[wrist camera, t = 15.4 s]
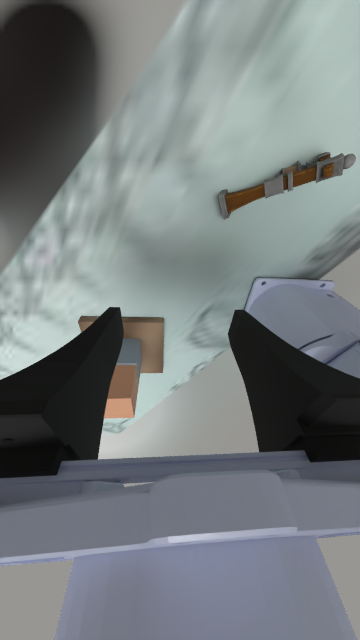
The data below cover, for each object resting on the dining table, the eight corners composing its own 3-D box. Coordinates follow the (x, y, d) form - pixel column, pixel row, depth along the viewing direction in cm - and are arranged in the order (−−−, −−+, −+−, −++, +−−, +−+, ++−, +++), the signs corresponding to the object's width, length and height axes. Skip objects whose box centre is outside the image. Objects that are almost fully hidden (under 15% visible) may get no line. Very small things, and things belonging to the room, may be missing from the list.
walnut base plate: (163, 317, 24) (163, 322, 23) (162, 367, 30) (162, 372, 29) (80, 316, 23) (77, 321, 22) (97, 367, 29) (96, 373, 28)
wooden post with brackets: (340, 166, 14) (356, 179, 11) (231, 204, 18) (223, 221, 15) (343, 134, 13) (363, 140, 10) (227, 182, 17) (217, 196, 14)
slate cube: (140, 338, 24) (136, 363, 21) (141, 358, 27) (138, 383, 23) (108, 338, 24) (99, 363, 21) (113, 358, 26) (105, 383, 23)
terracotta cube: (136, 365, 21) (130, 398, 18) (138, 385, 24) (134, 417, 21) (99, 364, 21) (87, 398, 18) (105, 385, 23) (96, 418, 20)
